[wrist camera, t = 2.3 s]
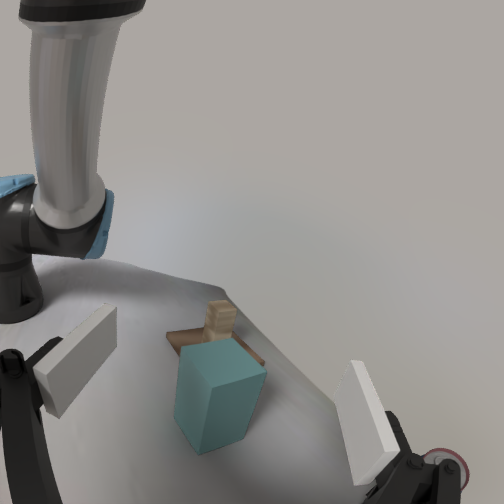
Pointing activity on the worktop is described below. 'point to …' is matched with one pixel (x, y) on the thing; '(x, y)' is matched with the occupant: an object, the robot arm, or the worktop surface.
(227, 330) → the brown square base plate
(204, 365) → the tall teal pillar
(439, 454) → the soda can
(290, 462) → the worktop surface
